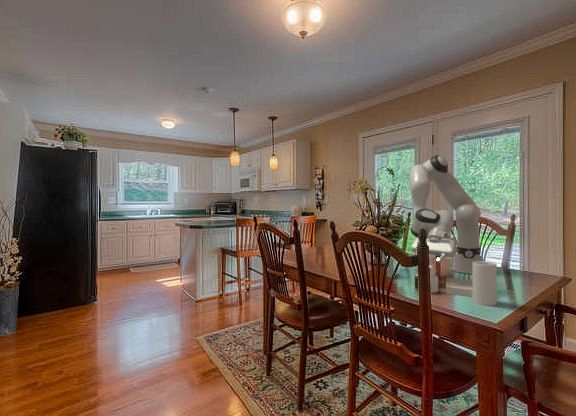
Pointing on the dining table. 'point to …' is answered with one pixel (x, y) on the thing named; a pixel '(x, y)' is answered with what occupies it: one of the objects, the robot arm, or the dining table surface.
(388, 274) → the candy bar box
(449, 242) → the robot arm
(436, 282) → the medicine bottle
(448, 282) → the dock
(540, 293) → the dining table surface
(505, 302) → the dining table surface
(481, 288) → the cup
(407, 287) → the dining table surface
